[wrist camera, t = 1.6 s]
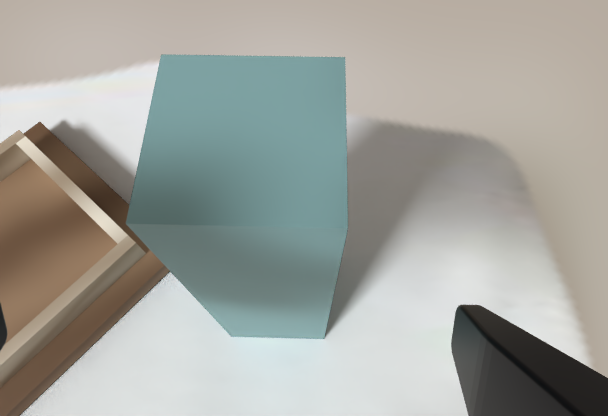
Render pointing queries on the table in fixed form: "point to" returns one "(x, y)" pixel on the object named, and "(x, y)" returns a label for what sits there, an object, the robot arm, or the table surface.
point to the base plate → (60, 263)
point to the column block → (248, 187)
